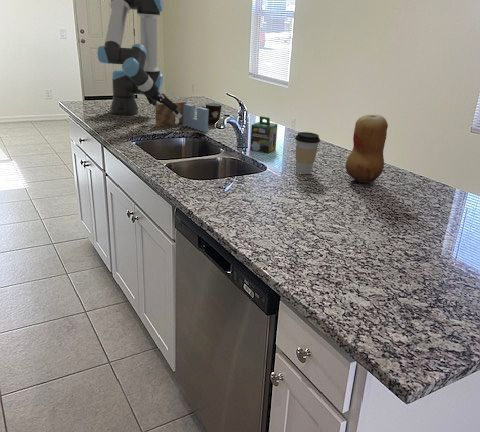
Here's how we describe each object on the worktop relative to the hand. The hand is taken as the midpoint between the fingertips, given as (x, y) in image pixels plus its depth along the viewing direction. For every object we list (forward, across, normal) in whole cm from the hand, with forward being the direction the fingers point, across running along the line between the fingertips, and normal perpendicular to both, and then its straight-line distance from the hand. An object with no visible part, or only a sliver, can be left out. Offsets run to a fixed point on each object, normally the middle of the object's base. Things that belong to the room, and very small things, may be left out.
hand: (171, 115), depth 238 cm
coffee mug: (+18, +7, +11) cm, 22 cm away
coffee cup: (-2, +90, -9) cm, 91 cm away
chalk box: (+6, +59, -1) cm, 59 cm away
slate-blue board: (+7, +13, 0) cm, 15 cm away
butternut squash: (+5, +110, -2) cm, 110 cm away
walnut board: (+3, 0, -4) cm, 5 cm away
